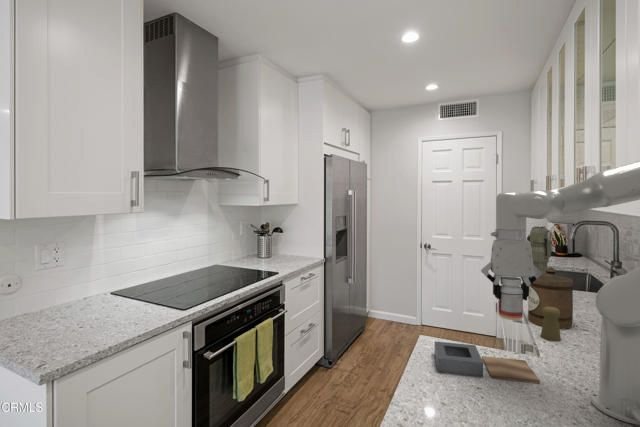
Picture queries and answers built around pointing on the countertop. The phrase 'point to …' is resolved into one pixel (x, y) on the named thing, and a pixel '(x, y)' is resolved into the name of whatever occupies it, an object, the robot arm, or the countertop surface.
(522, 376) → the brown pad
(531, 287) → the wooden container
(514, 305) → the pill bottle
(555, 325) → the cork
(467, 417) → the countertop surface
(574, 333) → the countertop surface
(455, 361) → the metal collar
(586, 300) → the countertop surface
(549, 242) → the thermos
